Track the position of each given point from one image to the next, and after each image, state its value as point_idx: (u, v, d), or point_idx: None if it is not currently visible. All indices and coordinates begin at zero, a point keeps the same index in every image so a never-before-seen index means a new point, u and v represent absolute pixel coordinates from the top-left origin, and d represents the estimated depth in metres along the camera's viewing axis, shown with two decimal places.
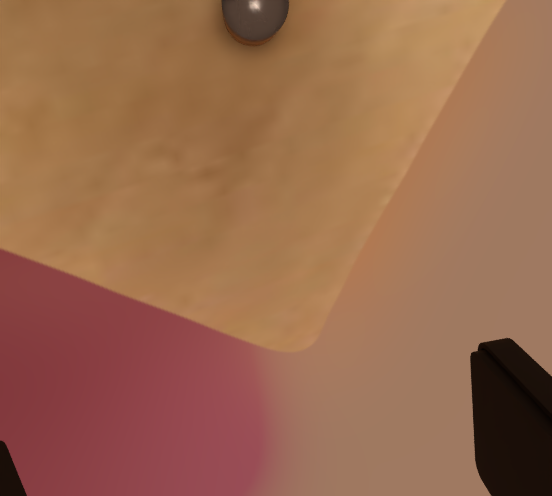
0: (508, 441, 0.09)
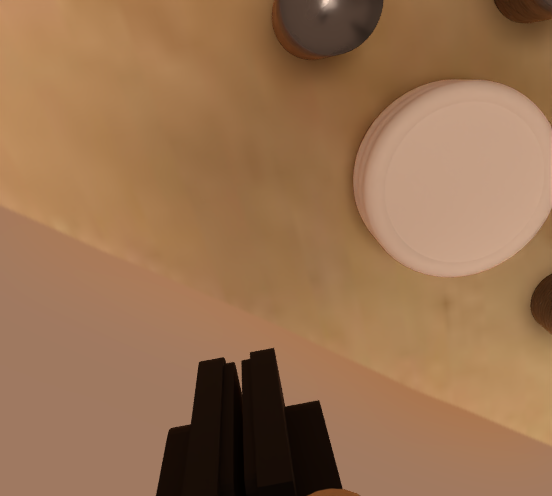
0: None
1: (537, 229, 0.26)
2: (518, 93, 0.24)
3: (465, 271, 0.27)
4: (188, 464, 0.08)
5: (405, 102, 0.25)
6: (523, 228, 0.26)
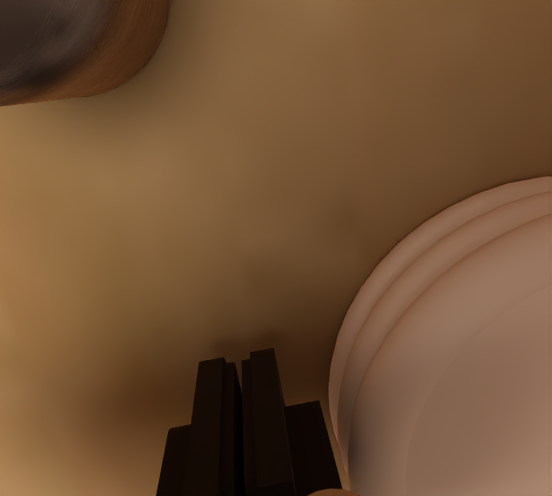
0: None
1: None
2: None
3: None
4: (188, 464, 0.08)
5: (462, 242, 0.10)
6: None
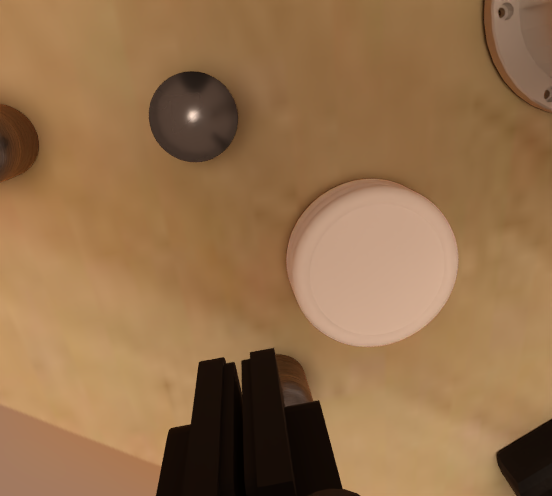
0: None
1: (439, 309, 0.31)
2: (422, 198, 0.29)
3: (379, 342, 0.31)
4: (188, 464, 0.08)
5: (329, 199, 0.29)
6: (427, 308, 0.31)
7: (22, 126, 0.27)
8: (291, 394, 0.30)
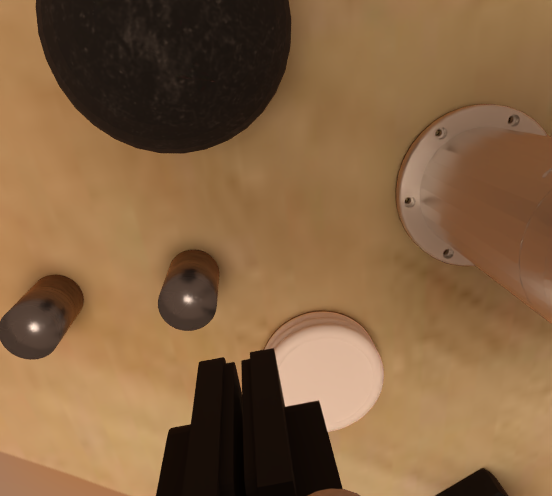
0: None
1: (371, 406, 0.42)
2: (353, 333, 0.40)
3: (328, 430, 0.43)
4: (188, 464, 0.08)
5: (288, 332, 0.41)
6: (362, 405, 0.42)
7: (73, 293, 0.39)
8: None
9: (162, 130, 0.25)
